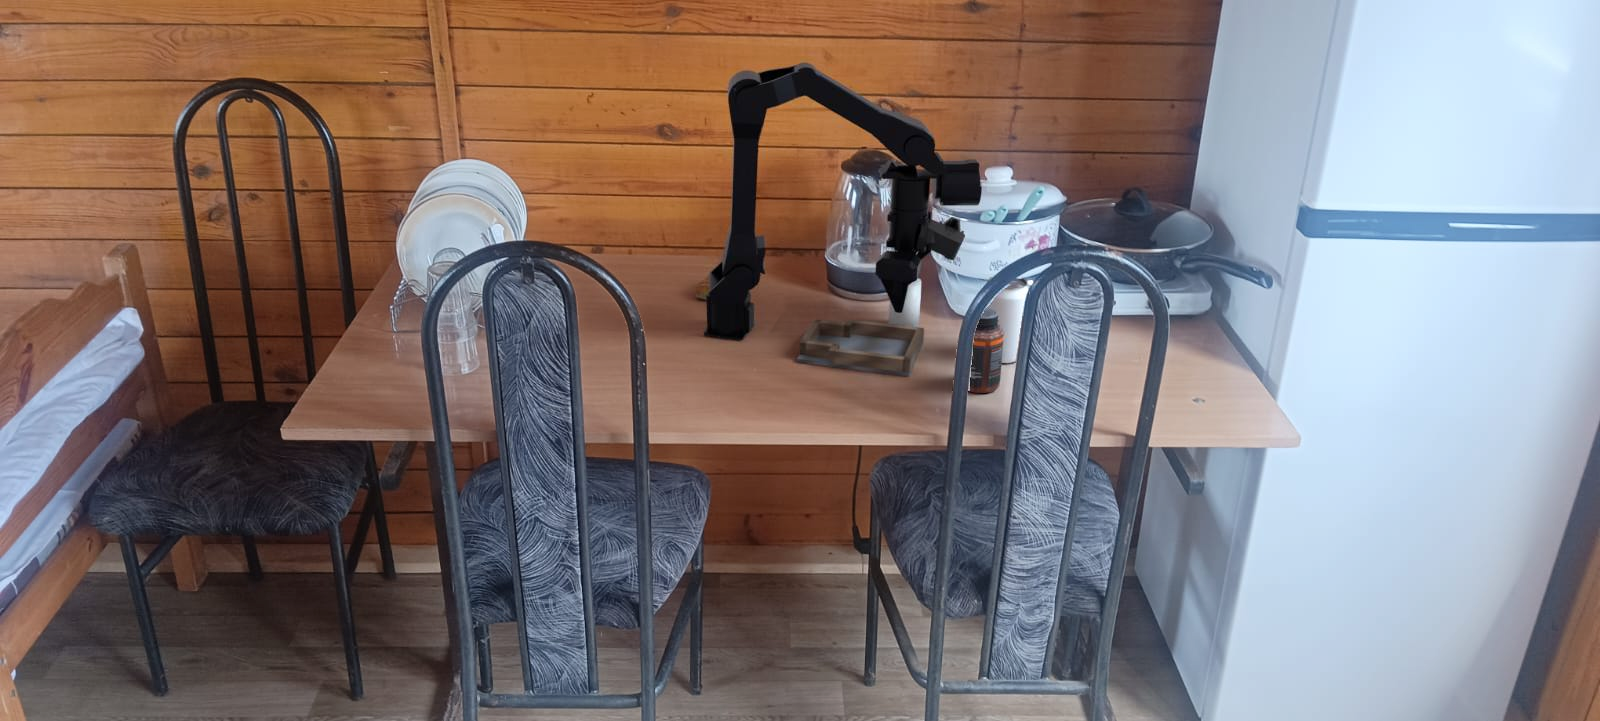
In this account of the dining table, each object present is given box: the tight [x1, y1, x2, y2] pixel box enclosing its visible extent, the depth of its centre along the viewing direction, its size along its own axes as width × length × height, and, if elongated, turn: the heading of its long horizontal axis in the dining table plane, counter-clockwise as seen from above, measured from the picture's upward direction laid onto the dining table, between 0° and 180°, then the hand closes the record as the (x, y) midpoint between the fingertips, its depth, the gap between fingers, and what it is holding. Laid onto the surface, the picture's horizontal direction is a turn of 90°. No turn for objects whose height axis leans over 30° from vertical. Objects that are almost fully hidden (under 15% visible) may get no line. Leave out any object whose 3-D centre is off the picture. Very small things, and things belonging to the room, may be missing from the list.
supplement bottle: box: [969, 308, 1004, 394], centre depth 161 cm, size 6×6×11 cm
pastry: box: [695, 274, 709, 300], centre depth 194 cm, size 9×7×4 cm
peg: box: [887, 277, 922, 328], centre depth 180 cm, size 5×5×8 cm
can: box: [987, 275, 1029, 365], centre depth 170 cm, size 6×6×12 cm
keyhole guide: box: [796, 318, 925, 377], centre depth 173 cm, size 17×12×3 cm
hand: (904, 301), depth 180 cm, fingers open, 9 cm apart
